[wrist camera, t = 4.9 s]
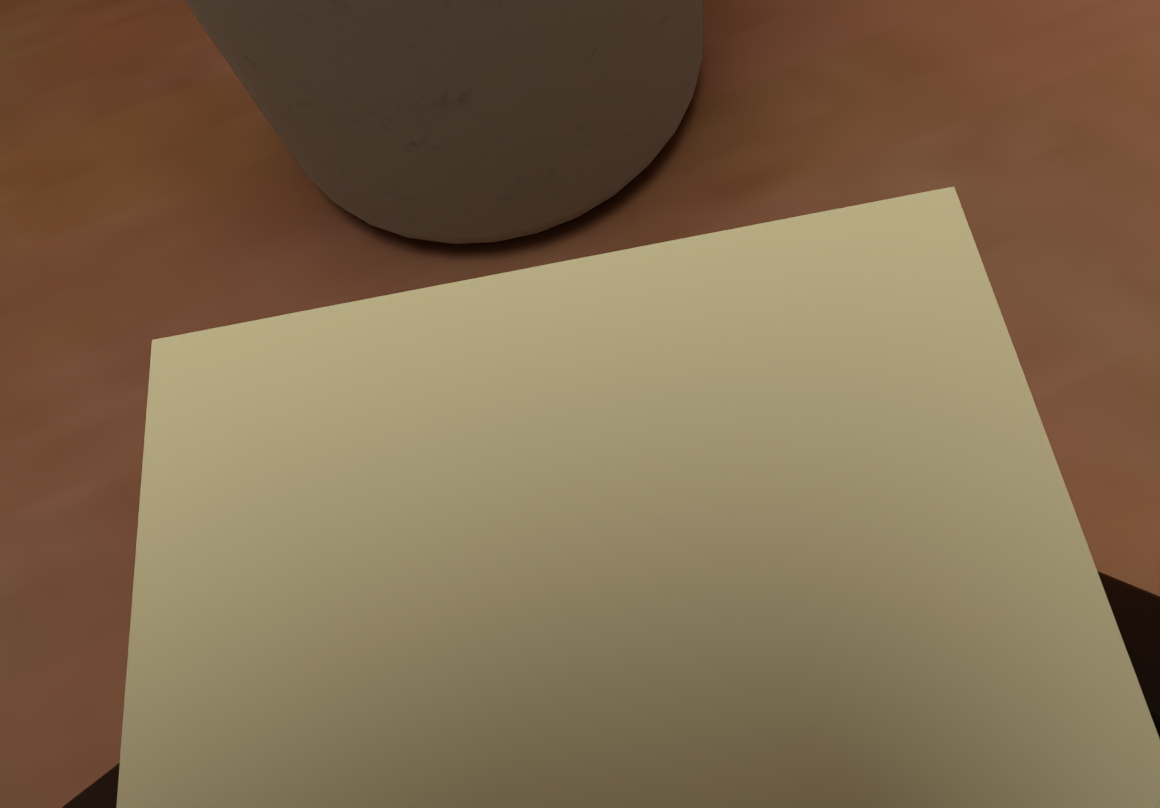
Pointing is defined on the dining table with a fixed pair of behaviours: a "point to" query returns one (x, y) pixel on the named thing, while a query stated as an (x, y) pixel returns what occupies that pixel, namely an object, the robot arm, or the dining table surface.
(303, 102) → the water bottle
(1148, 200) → the dining table surface
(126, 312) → the dining table surface
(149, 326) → the dining table surface
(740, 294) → the pale green tall block
